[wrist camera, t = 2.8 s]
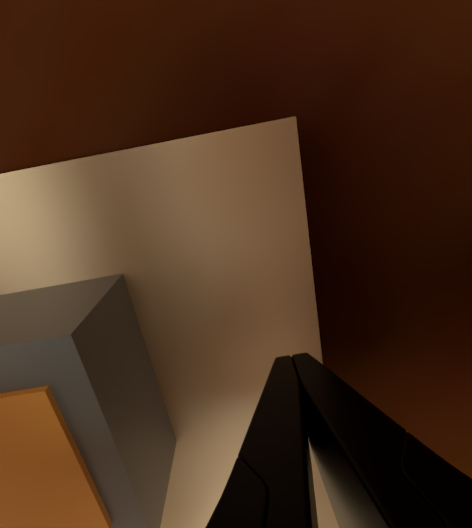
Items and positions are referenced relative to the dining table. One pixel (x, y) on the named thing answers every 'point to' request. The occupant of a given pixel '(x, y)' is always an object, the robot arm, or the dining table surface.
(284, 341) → the subfloor board
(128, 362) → the block
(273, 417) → the robot arm
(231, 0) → the dining table surface
